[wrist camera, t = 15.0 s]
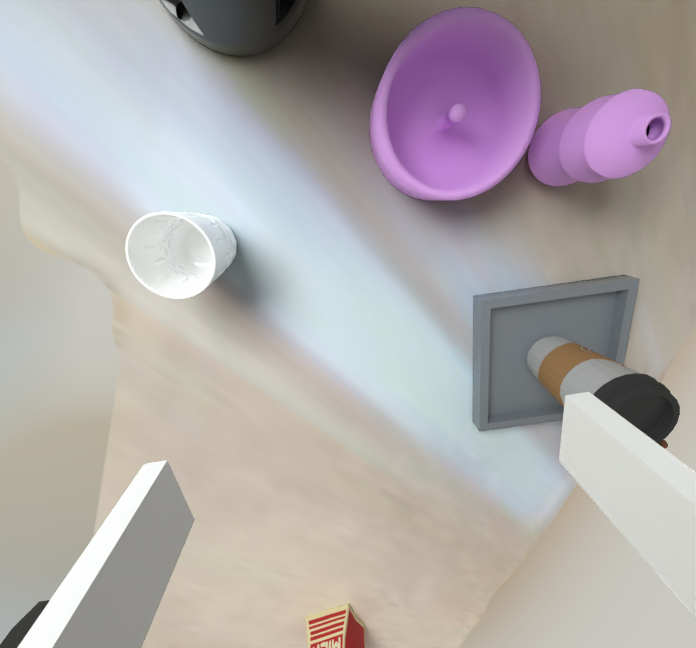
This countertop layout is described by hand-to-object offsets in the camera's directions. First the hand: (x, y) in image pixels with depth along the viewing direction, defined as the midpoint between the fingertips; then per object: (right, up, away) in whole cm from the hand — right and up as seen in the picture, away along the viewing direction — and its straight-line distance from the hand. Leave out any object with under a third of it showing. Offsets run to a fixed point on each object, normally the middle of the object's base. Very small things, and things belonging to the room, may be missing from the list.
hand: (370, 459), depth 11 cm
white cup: (-17, +14, +29) cm, 36 cm away
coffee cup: (+27, 0, +35) cm, 45 cm away
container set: (+14, +26, +26) cm, 39 cm away
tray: (+27, 0, +36) cm, 45 cm away
